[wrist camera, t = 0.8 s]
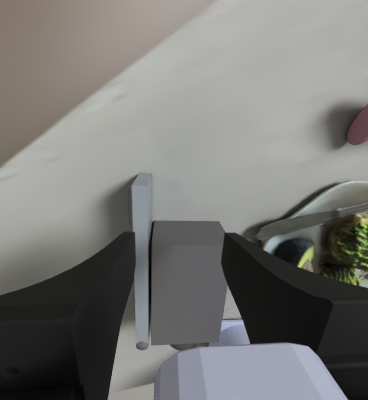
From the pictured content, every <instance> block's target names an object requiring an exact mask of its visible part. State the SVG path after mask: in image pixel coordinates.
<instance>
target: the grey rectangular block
mask: <svg viewBox="0 0 368 400" xmlns="http://www.w3.org/2000/svg"><path fill="white" fill-rule="evenodd" d="M224 234H225V231H224V229H223V228H222V226H221V224H220V222H214V221H155V222H154V229H153V237H152V297H151V345H169V344H170V345H171V346H172V347H173V348H175V349H177V350H180V351H182V350H186V349H190V348H194V347H195V346H196V345H197V344H198V343H212V342H219V339H220V332H221V325H222V318H223V312H224V305H225V298H226V291H227V282H226V279H225V277H224V273H223V269H222V265H221V257H222V249H223V241H224Z"/></svg>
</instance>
